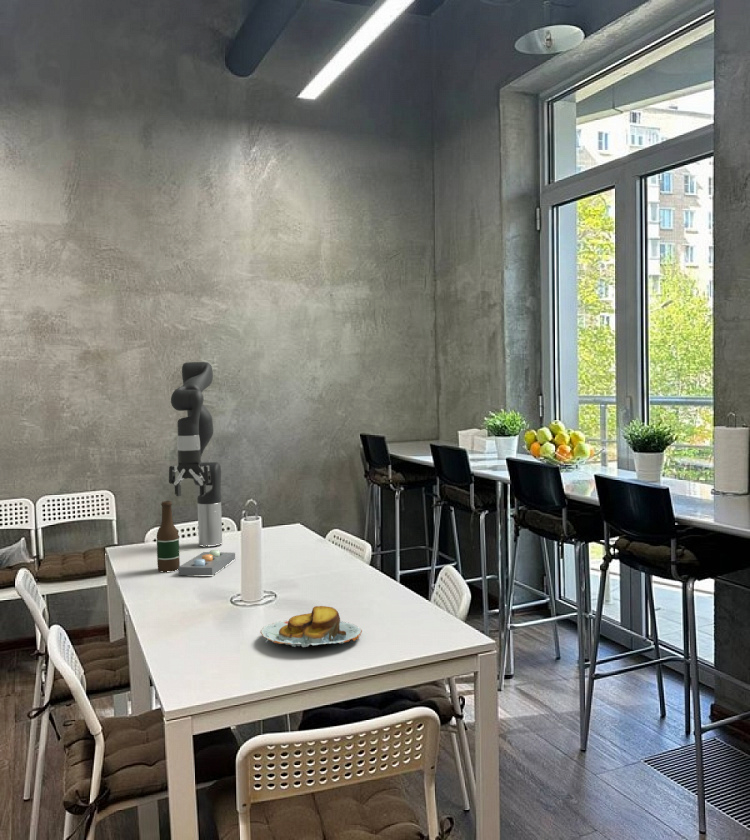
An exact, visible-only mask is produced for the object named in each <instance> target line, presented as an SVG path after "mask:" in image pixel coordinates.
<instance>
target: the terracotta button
mask: <svg viewBox="0 0 750 840" xmlns="http://www.w3.org/2000/svg"><path fill="white" fill-rule="evenodd" d="M202 559H205V561H212V560H213V555H211V554H206V555H202Z"/></svg>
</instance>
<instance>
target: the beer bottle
mask: <svg viewBox="0 0 750 840" xmlns="http://www.w3.org/2000/svg"><path fill="white" fill-rule="evenodd" d="M160 506H161V521H160V522H161V523H160V526H159V528H158V529H157V531H156V556H157V557H156V561H157V564H156V565H157V570H158V572H159V571H163V572H162V573H165V572H166V573H168V572H167V571H174V572H176V571H175V570H177V569H178V567H179V566H181V565H180V563H181V561H180V559H181V558H180V537H179V535H180V534H179V531H178V529H177V528H176V526H175V525H174V519H173V509H172V506H173V503H172V501H170V500H165V501H162V502H161V503H160ZM177 571H178V570H177Z"/></svg>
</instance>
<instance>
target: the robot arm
mask: <svg viewBox="0 0 750 840" xmlns="http://www.w3.org/2000/svg"><path fill="white" fill-rule="evenodd" d="M181 366H182V367H181V377H182V378H181V379H182V385H181V386H180V387H177V388H176V389H175V390H174V391H173V392H172V394H171V398H170V404H171V407H172V408H173V409H174V410H176V411H178V412H179V411H186V412H187V416H186V417H181V418H179V419H178V420H177V443H176V444H177V445H176V449H177V464H178V465H170V466H169V467H168V483H169V484H172V485H173V486H174V494H175V495H176V497H181V496H182V485H181V483H182V481H183V480H184V479H191V480H193V483H194V485H195V486H198V487H199V495H198V496H197V499H196V500H197V501H196V502H197V528H198V529H197V533H198V546H199V545H203V546H206V545H207V546H208V545H216V544H220V543H222V544H223V525H222V524H223V523H222V521H223V520H222V519H223V518H222V516H223V515H222V488H221V486H222V483H221V482H222V468H221V465H220V463H219V462H216V461H214V462H213V461H212V462H210V461H208V462H202V455H203V452H204V451H205V449H206V447H207V446H208V444H209V442H210V441H211V439H212V437H213V434H214V425H213V424H214V423H213V422H214V421H213V416H212V414H211V413H210V411H209V410H208V408H207V407H206V406H205V405H204V394H203V392H204V391H205V390H206V389H207V388H208V387H210V386H211V384H212V382H213V377H214V375H213V374H214V372H213V367H212V364H211V363H210V362H208V361H193V362H192V361H191V362H189V361H188V362H185V363H184V362H183V364H182V365H181ZM177 471H178V473H179V474H178V476H177V477H176V473H177ZM207 486H209V487H210V486H211V487H212V488H211V489H210V490H208V491H207V490H206V489H207Z"/></svg>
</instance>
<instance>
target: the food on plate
mask: <svg viewBox="0 0 750 840" xmlns="http://www.w3.org/2000/svg"><path fill="white" fill-rule="evenodd" d="M362 632H363V630H362V629H361V628H360V627H359V626H358V625H356V624H354V623H350V622H347V621H342V620H341V617H340V614H339V612H338V610H337V609H336V608H334V607H332V606H326V605H320V606H319V605H316V606H315V605H314V607H312V610H311V612H310V613H303V614H298V615H297V614H296V615H294V616H291V617H290V618H289V619H288V620H282V621H281V620H280V621H275V622H272V623H271V624H268V625H265V626H263V627H262V628H261V629H260V634H261V636H263V638H266V639H265V643H267V642H268V641H271V642H272V643H274V644H277V645H278V644H279V645H281V644H285V645H287V646H289V645H290V646H291V647H294V648H296V647H300V646H301V647H302V648H306V647H307V648H308V647H309V646H310V645H312V646H318V645H326V644H327V645H335V644H344V643H348V642H350V641H353V642H355V641H356V640H359V637H360V636H361V634H362Z"/></svg>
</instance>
